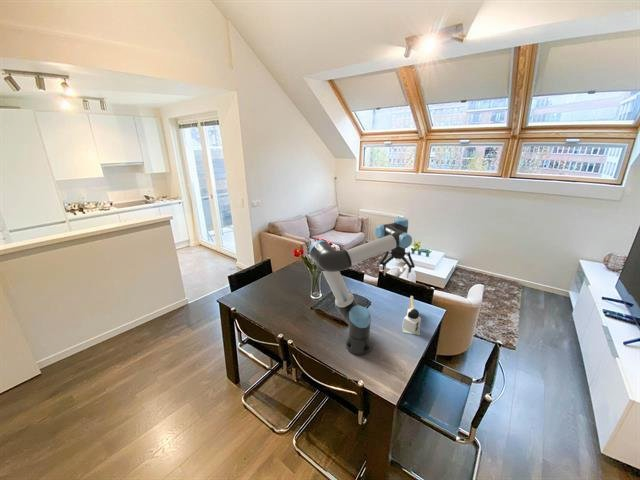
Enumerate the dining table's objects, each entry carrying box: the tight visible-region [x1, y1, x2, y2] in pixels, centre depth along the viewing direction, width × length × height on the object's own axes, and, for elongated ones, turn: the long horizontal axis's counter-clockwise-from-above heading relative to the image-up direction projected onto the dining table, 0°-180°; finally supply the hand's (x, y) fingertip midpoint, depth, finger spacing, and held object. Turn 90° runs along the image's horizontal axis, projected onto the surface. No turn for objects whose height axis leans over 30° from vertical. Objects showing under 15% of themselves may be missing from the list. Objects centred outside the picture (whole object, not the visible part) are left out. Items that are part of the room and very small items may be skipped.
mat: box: [401, 321, 421, 336], centre depth 165 cm, size 10×10×1 cm
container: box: [402, 308, 422, 335], centre depth 163 cm, size 8×8×13 cm
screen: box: [406, 295, 416, 312], centre depth 175 cm, size 4×14×11 cm, turn 165°
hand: (395, 275), depth 164 cm, fingers open, 13 cm apart
